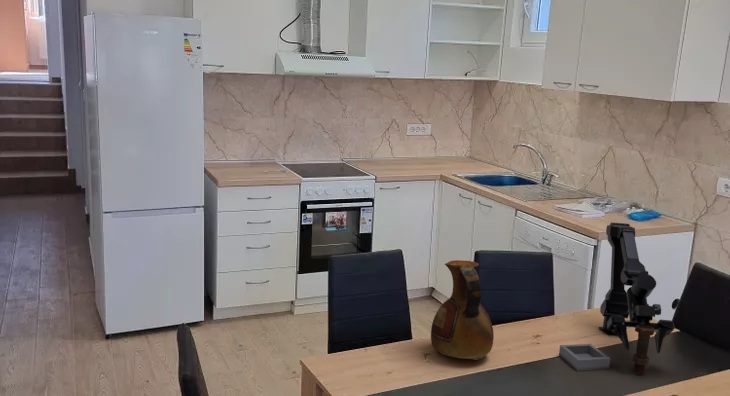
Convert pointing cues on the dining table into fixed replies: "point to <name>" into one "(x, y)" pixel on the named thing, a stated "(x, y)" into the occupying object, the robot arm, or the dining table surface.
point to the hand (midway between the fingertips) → (643, 351)
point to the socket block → (584, 357)
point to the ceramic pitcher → (463, 317)
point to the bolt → (642, 347)
